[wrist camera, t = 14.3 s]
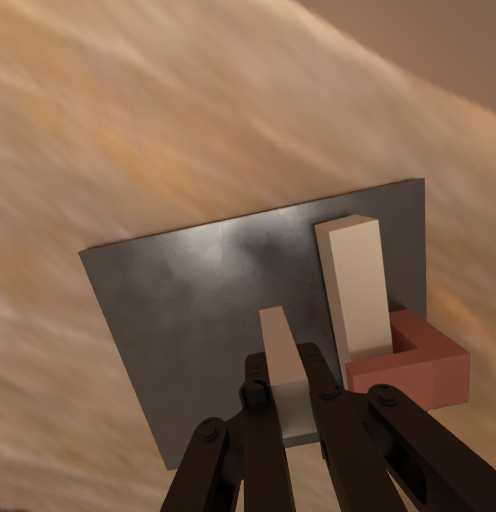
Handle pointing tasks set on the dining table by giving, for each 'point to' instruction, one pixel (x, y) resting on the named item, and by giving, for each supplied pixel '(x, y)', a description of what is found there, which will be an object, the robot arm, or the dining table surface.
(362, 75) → the dining table surface
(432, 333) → the block
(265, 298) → the base plate
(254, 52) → the dining table surface
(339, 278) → the link
